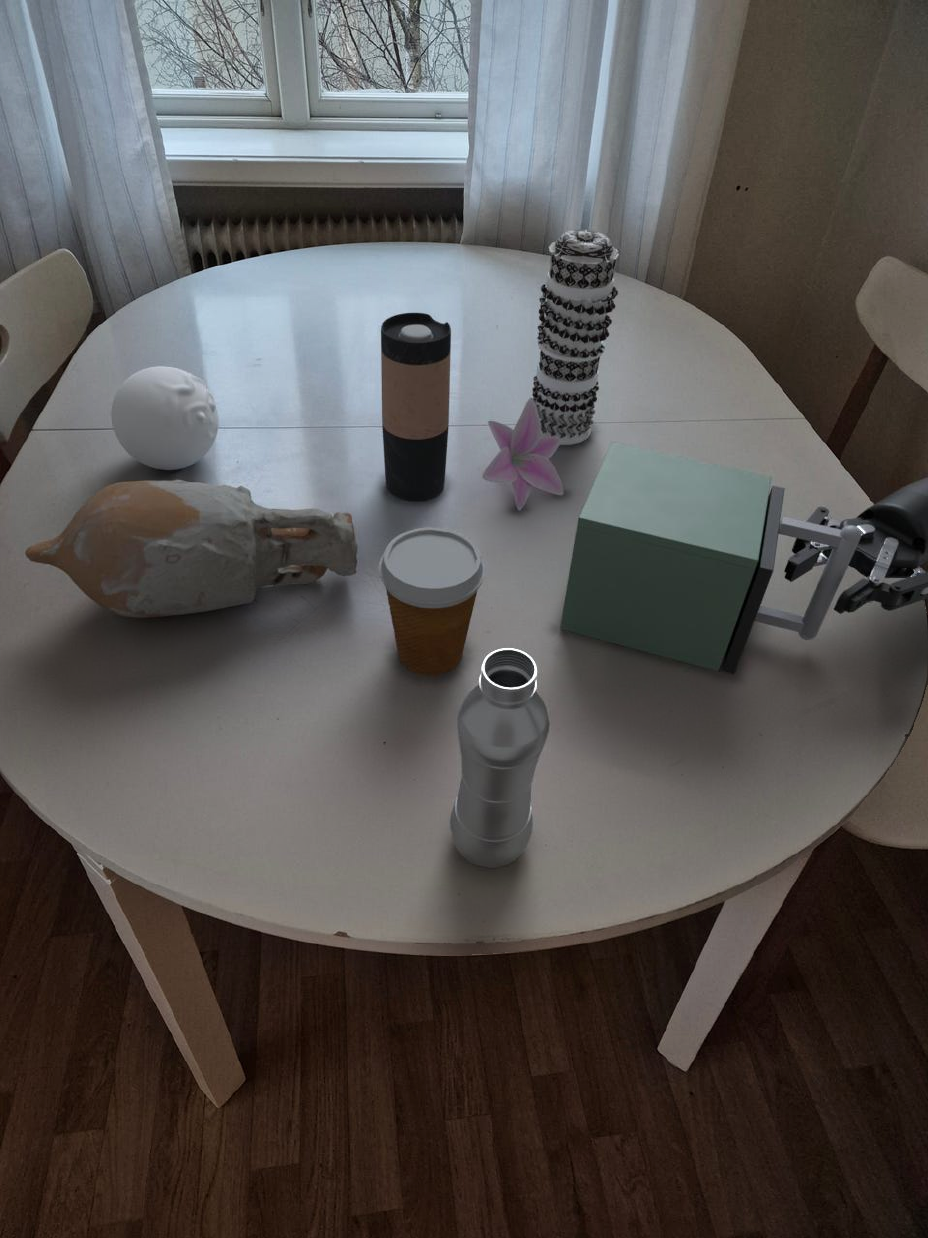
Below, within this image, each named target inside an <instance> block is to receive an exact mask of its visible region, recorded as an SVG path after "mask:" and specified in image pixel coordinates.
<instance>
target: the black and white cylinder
mask: <svg viewBox="0 0 928 1238" xmlns="http://www.w3.org/2000/svg"><path fill="white" fill-rule="evenodd" d="M548 249H549V252H550V253H551V257H550V261H549V262H550V265H549V267H550V268H549V271H548V272H547V275H546V284H545V283H544V284H542V285H541V286H540V291H541V292H542V295H541V296H540V297H539V299H538V300H539V303H540V305H539V306H540V308H539V309H538V314H539V315H538V319H539V321H540V324H539V325H538V326H537V330H538V333H537V334H538V336H537V337H536V339H537V346H538V349H539V350H540V352H539V361H538V363H537V364H536V365H537V366H536V374H535V375H534V376H533V383H532V384H533V387H532V397H531V398H532V399H533V400H534V402H535V404H536V407H537V410H538V414H539V418H540V423H541V436H554V437H558V438H560V439H561V443H560V445H559V446H573V445H576V444H581V443H582V442H584V441H586V440H587V439H589V437H590V435H591V433H592V427H591V426H592V425H594V420H593V419H594V416H593V415H595V413H596V410H595V403H596V402H597V401H598V397H597V392H598V391H599V390H600V386H599V374H600V371H599V365H600V359H601V357H602V356H603V354H604V353H605V351H606V346H605V342H604V341H606V340H607V338H609V337H610V332H609V329H608V328H609V327H610V325H612V322H613V320H612V319H611V317H610V315H609V313H612V312H613V310H615V308H616V303H615V301H614V299H616V297H617V296H618V294H619V291H618V289H617V287H616V286H614V283H615V279H614V274H615V267H616V261H617V258H618V257H619V255H620V254H619V251H618V249H617V248H616V247H614V246H613V245H612V242H611V239H610V238H609V237H608V236H607V235H606V234H603V233H601V232H598V231H595V230H590V229H571V230H568V231H565V232H563V233H562V234H561V235H560V237H559V238H557V240H555V241H553V242H551V244H550V245H549V246H548Z"/></svg>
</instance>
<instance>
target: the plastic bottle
mask: <svg viewBox="0 0 928 1238" xmlns="http://www.w3.org/2000/svg"><path fill="white" fill-rule="evenodd" d="M480 671H481V673H480V675H479V678H478V685H476V686H475V687H474V688H473V689H472V690H470V691H469V692H468V694H467V695H466V696H465V698H464V700H463V702H462V704H461V705H460V708H459V710H458V713H457V736H458V742H459V743H458V744H459V750H460V756H461V759H460V760H461V763H460V765H461V779H460V784H459V788H458V792H457V796H456V798H455V801H454V803H453V805H452V809H451V813H450V818H449V827H450V832H451V837H452V841H453V845H454V846H455V848H456V850H457V851H458V853H459V854H460V855H461V856H462V857H463V858H464V859H465V860H467V861H468V862H469V863H471V864H473V865H476V866H478V867H483V868H490V869H491V868H492V869H493V868H500V867H504V866H507V865H509V864H512V863H513V862H515V861H516V860H517V859H518V858H519V857H520V856H521V855H522V854H523V853H524V851H525V849H526V847H528V846H527V845H528V843H529V841H530V839H531V837H532V833H533V825H534V823H533V809H532V808H533V807H532V784H533V780H534V775H535V772H536V768H537V765H538V762H539V759H540V757H541V755H542V754H541V753H542V751H543V749H544V747H545V744H546V742H547V739H548V735H549V731H550V717H549V713H548V709H547V706H546V703H545V702H544V700H543V698H542V697H541V695H540V694H539V693H538V692H537V685H538V683H537V676H538V669H537V664H536V662H535V660H534V659H533V658H532V657H531V656H530V654H528V653H526V652H525V651H523V650H520V649H516V648H512V647H511V648H510V647H508V648H507V647H506V648H505V647H504V648H499V649H496V650H494V651H491V652H490V653H489V654H488V655H487V656H485V658H484V660H483V662H482V664H481V670H480Z"/></svg>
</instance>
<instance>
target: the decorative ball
mask: <svg viewBox="0 0 928 1238" xmlns="http://www.w3.org/2000/svg"><path fill="white" fill-rule="evenodd" d="M110 417H111V418H110V419H111V424H112V425H111V426H112V428H113V432H114V434H115V437H116V438H117V441H118V442H119V444H120V446H121V447H122V448H123V449H124V451H125V452H126V453H127V454H128V455H129V456H131V458H133V459H134V460H136V461H137V462H139V463H141V464H142V465H145V466H147V467H149V468H153V469H157V470H163V471H174V470H180V469H185V468H187V467H190V466H192V465H194V464H196V463H197V462H199V461H200V460H201V459H203V458H204V457H205V456H206V455H207V454H208V452H209V451H210V450H211V449H212V447H213V445H214V443H215V441H216V438H217V435H218V430H219V424H220V423H219V421H220V420H219V414H218V409H217V405H216V402H215V399H214V396H213V395H212V393H211V392H210V391H209V390H208V387H207V385H206V383H205V382H204V380H203V379H201V378H200V377H198V376H195V375H194V374H193V373H190V372H189V371H186V370H183V369H181V368H179V367H178V368H177V367H173V366H164V365H159V366H150V367H146V368H143V369H140V370H138V371H136V372H134V373H133V374H131V375H129V376H128V377H127V378H126V379H125V380H124V381H123V382H122V383H121V385H120V386H119V387H118V389H117V390H116V393H115V395H114V397H113V399H112V404H111V413H110Z"/></svg>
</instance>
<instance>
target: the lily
mask: <svg viewBox="0 0 928 1238" xmlns="http://www.w3.org/2000/svg"><path fill="white" fill-rule="evenodd" d="M532 398H533V397H530V398H529V399H528V400H527V401H526V403H525V405H524V408H523V409H522V411H521V414H520V416H519V418H518V420H517V422H516V424H515V426H514V428H511V427H509V426H508V425H506V424H503V423H501V422H498V421H494V420H487V425H488V428H489V430H490V432H491V434H492V436H493V438H494V440H495V442H496V444H497V446H498V448H499V452H498V453H497V454H496V456H494V458H493V459H492V461H491V462H490V463H489V464H488V466H487V467H486V469H485V470H484V471H483V473H482V477H481V478H482V479H483V480H484V481H488V482H492V483H493V482H494V483H511V487H512V492H513V496H514V501H515V505H516V508H517V510H518V511H521V510H522V509H523V507H524V506H525V504H526V502H527V501H528V498H529V496H530V494H531V491H532V486H533V487H535V488H537V489H539V490H542V491H545V492H547V493H550V494H553V495H557V496H563V495H564V491H565V490H564V487H563V486H564V485H563V483H562V480H561V477H560V475H559V474H558V471H557V469H556V467H555V465H554V464H553V462H552V461H551V460H550V458H552V456H553V455H554V454H555V453H556V451H557V449H558V448H559V446H561V445H560V443H561V439H560V438H558V437H554V436H541V423H540V418H539V414H538V410H537V407H536V404H535V402H534V400H533V399H532Z"/></svg>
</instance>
